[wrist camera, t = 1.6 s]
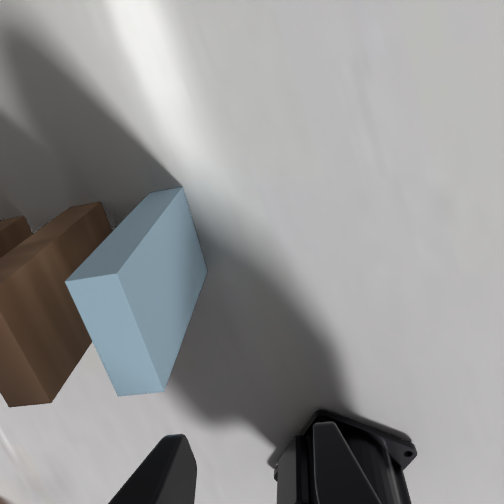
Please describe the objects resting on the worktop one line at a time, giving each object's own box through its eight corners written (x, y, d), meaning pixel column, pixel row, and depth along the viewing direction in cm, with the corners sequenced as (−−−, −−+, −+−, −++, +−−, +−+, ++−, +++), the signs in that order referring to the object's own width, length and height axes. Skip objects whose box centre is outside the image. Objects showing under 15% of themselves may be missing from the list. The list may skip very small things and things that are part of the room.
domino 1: (100, 201, 19) (-11, 292, 12) (131, 282, 21) (51, 402, 14) (69, 207, 20) (-58, 299, 12) (103, 286, 21) (9, 407, 14)
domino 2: (182, 186, 19) (117, 273, 11) (207, 271, 20) (163, 391, 13) (149, 192, 19) (64, 281, 12) (176, 276, 21) (117, 396, 14)
